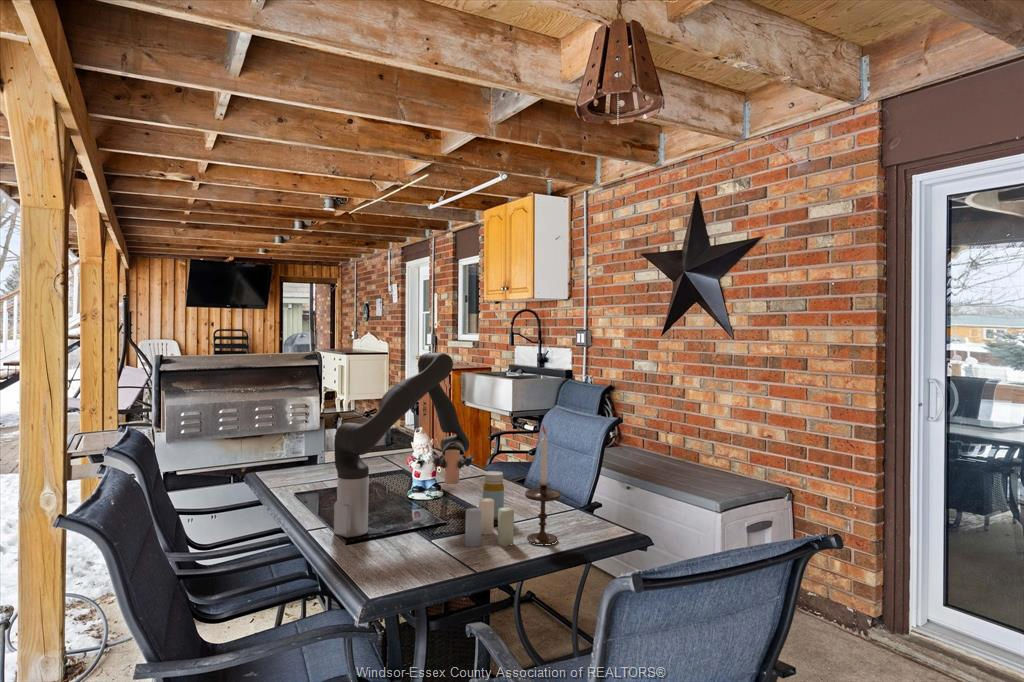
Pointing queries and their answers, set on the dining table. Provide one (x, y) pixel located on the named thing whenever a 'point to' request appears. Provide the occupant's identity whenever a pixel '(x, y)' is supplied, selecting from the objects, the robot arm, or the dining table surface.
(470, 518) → the dusty blue canister
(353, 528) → the robot arm
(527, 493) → the candlestick
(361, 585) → the dining table surface
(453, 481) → the terracotta canister
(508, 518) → the sage canister
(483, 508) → the cream canister
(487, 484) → the bottle
